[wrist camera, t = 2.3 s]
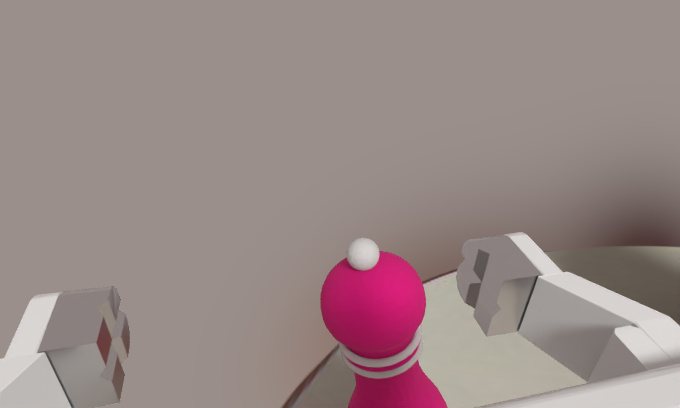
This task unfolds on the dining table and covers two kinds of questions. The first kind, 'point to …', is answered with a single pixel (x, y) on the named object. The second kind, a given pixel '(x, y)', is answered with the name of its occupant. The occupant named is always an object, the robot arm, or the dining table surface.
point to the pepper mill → (379, 327)
